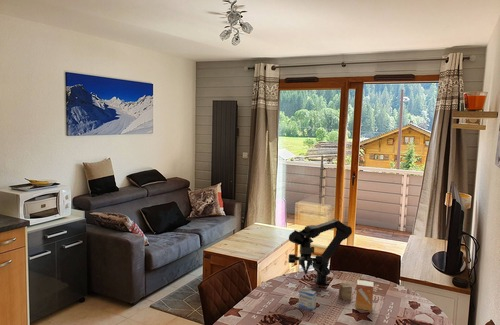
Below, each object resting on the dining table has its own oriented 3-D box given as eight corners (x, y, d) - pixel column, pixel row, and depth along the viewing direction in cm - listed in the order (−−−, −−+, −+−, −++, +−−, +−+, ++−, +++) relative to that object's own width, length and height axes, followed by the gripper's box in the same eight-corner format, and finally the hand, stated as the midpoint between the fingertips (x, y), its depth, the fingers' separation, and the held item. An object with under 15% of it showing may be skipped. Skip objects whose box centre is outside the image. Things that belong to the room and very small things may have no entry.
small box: (355, 308, 198) (356, 284, 196) (356, 303, 204) (357, 279, 202) (372, 311, 195) (373, 286, 194) (372, 305, 201) (373, 281, 200)
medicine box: (298, 307, 198) (298, 290, 197) (301, 303, 202) (301, 287, 201) (313, 311, 194) (313, 294, 194) (316, 307, 198) (316, 291, 197)
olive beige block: (338, 295, 212) (339, 283, 211) (347, 295, 213) (348, 282, 212) (342, 299, 207) (343, 287, 207) (351, 299, 208) (351, 286, 207)
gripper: (289, 240, 213) (288, 266, 203) (323, 241, 211) (324, 268, 202) (288, 249, 222) (288, 275, 212) (321, 250, 220) (322, 277, 210)
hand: (305, 274), depth 209 cm, fingers closed
